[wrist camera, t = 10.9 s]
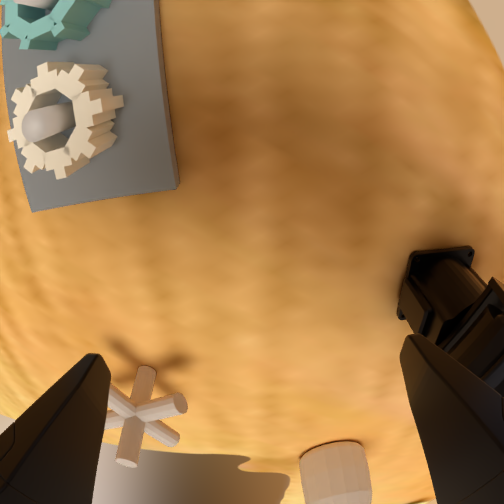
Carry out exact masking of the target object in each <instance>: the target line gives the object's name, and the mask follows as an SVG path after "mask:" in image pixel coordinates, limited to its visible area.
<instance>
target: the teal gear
mask: <svg viewBox="0 0 504 504" xmlns="http://www.w3.org/2000/svg"><path fill="white" fill-rule="evenodd" d="M111 1H112V0H59V1H58V3H57V4H56V6H55V7H54V9H53V10H52V12H51V13H50V14H49V15H47V16H45V9H42V8H37V7H33V6H28V5H23V4H18V3H15V2H14V1H13V0H1V3H0V5H2V6H5V25H4V26H3V27H2V28H1V29H0V34H1V36H2V38H8V39H20V40H21V43H20V47H19V49H33V50H56V49H57V45H58V42H60V41H63V40H65V39H72V40H79V41H81V40H83V39H84V38H85V37H86V36H88V35H89V34H90V33H89V31H88V29H87V26H88V25H89V23H90V22H91V21H92V19H93V18H94V16H95V15H96V14H97V12H98V11H99V10H100V8H109V6H110V3H111Z"/></svg>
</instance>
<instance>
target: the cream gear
mask: <svg viewBox="0 0 504 504" xmlns="http://www.w3.org/2000/svg"><path fill="white" fill-rule="evenodd" d="M107 72H108V70H107V69H105V68H104V67H102V66H101V65H94V64H74V62H45V63H43V64H41V65H39V66H37V73H38V77H36V78H34V79H31V80H30V82H31V83H30V84H26V86H25V87H21V88H16V89H15V91H14V93H13V96H12V98H11V100H12V101H13V102H15V103H16V104H17V105H16V108H15V110H14V112H13V113H14V114H15V115H17V117H15V118H13V124H14V128H13V129H10V130H8V131H7V133H8V138H9V142H11V141H14V140H16V141H17V145H18V149H19V148H22V147H23V149H22V152H21V154H22V155H23V156H25V157H26V158H27V160H26V162H25V165H24V168H25V169H26V170H28V171H29V172H30V173H31V174H32V173H34V172H35V171H37V170H39V169H41V170H43V169H45V168H46V171H49V170H53V169H54V172H55V176H56V180H57V179H62V178H66V177H68V176H69V175H71V174H72V173H74V172H75V171H77V170H79V169H80V168H82V167H83V166H85V165H86V164H88V163H90V160H89V159H90V158H92V157H94V156H95V155H97V154H99V153H101V152H102V151H104V150H106V149H108V148H109V147H111V146H112V145H113V143H114V142H115V140H116V138H117V137H118V136H116V135H115V134H113V133H112V132H111V131H110V130H111V129H112V127H113V125H114V124H115V123H114V122H112V121H111V119H114V118H116V114H115V109H117V108H120V107H124V102H123V95H119V96H113V93H112V88H109V89H106V88H107V86H108V85H109V83H107V82H106V81H104V80H103V78H104V76H105V75H106V73H107ZM62 94H64V95H65V96H66V97H68V98H69V99H71V100H72V103H73V110H74V116H75V122H76V127H75V129H74V130H73V132H72V134H71V136H70V138H69V139H68V138H67V137H66V136H64V135H63V134H62V133H57V134H55V135H52V136H50V137H47V138H45V139H42V140H40V141H37V142H29V141H28V140H26V138H25V137H24V135H23V133H22V121H23V118H24V116H25V115H26V114H27V113H28V112H29V111H31V110H35V109H39V108H43V107H47V106H51V105H56V104H57V102H58V100H59V98H60V97H61V95H62Z"/></svg>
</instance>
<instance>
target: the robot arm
mask: <svg viewBox="0 0 504 504" xmlns="http://www.w3.org/2000/svg"><path fill="white" fill-rule="evenodd" d="M474 252H475V251H474V249H473V248H472V247H470V246H468V247H458V248H448V249H438V250H428V251H418V252H414V253H412V254H411V255H410V258H409V262H408V267H407V272H406V277H405V279H404V281H403V286H402V290H401V294H400V299H399V303H398V305H399V307H398V311H397V316H398V318H399V320H406V319H407V321H408V323H409V325H410V327H411V328H412V330H413V332H414V334H410V335H407V336H406V338H405V341H404V344H403V347H402V350H401V352H400V363H401V367H402V372H403V376H404V380H405V385H406V390H407V395H408V399H409V403H410V407H411V410H412V413H413V416H414V420H415V423H416V426H417V429H418V433H419V436H420V439H421V443H422V446H423V450H424V453H425V457H426V460H427V464H428V468H429V471H430V475H431V479H432V483H433V487H434V491H435V496H436V500H437V504H504V284H502V283H501V282H500V281H498V280H497V279H495V278H494V277H492V278H491V279H490V281H489V282H488V285H487V284H486V283H485V282H484V281H483V280H482V279H481V278H480V277H479V276H478V274H477V273H476V272H475V271H474V270H473V269H472V268H471V264H472V260H473V257H474ZM468 253H469V254H468ZM415 258H417V259H416V260H415ZM402 314H403V315H402ZM110 381H111V373H110V370H109V368H108V367H107V365H106V363H105V361H104V359H103V357H102V356H101V355H100V354H95V353H88V354H86V355H85V356H84V357H83V358H82V359H81V360H80V361H79V362H78V363H76V364H75V365H74V366H73V367H72V368H71V369H70V370H69V371H68V372H67V373H65V374H64V375H63V376H62V377H61V378H60V379H59V380H58V381H57V382H56V383H55V384H54V385H52V386H51V387H50V388H49V389H48V390H47V391H46V392H45V393H44V394H43V395H42V396H41V397H40V398H39V399H38V400H36V401H35V402H34V403H33V404H32V405H31V406H30V407H29V408H28V409H27V410H26V411H25V412H24V413H23V414H22V415H21V416H20V417H19V418H17V419H16V420H15V422H13V423H12V424H11V425H10V426H9V427H8V428H7V429H6V430H5V431H4V432H3V433H2V434H1V435H0V504H92V498H93V491H94V484H95V477H96V471H97V465H98V459H99V453H100V448H101V443H102V438H103V433H104V428H105V423H106V416H107V407H108V398H109V389H110Z"/></svg>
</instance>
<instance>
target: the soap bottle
mask: <svg viewBox="0 0 504 504" xmlns="http://www.w3.org/2000/svg"><path fill="white" fill-rule="evenodd" d="M299 465H300V474H301V483H302V488H303V493H304V498H305V503H306V504H371V500H372V487H371V480H370V473H369V467H368V463H367V459H366V455H365V451H364V448H363V446H361V445H360V444H358V443H356V442H350V441H343V442H334V443H330V444H325V445H322V446H319V447H316V448H313V449H312V450H310V451H308V452H306V453H305V454H304V455H303V457H302V458H301V459H300V462H299Z"/></svg>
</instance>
